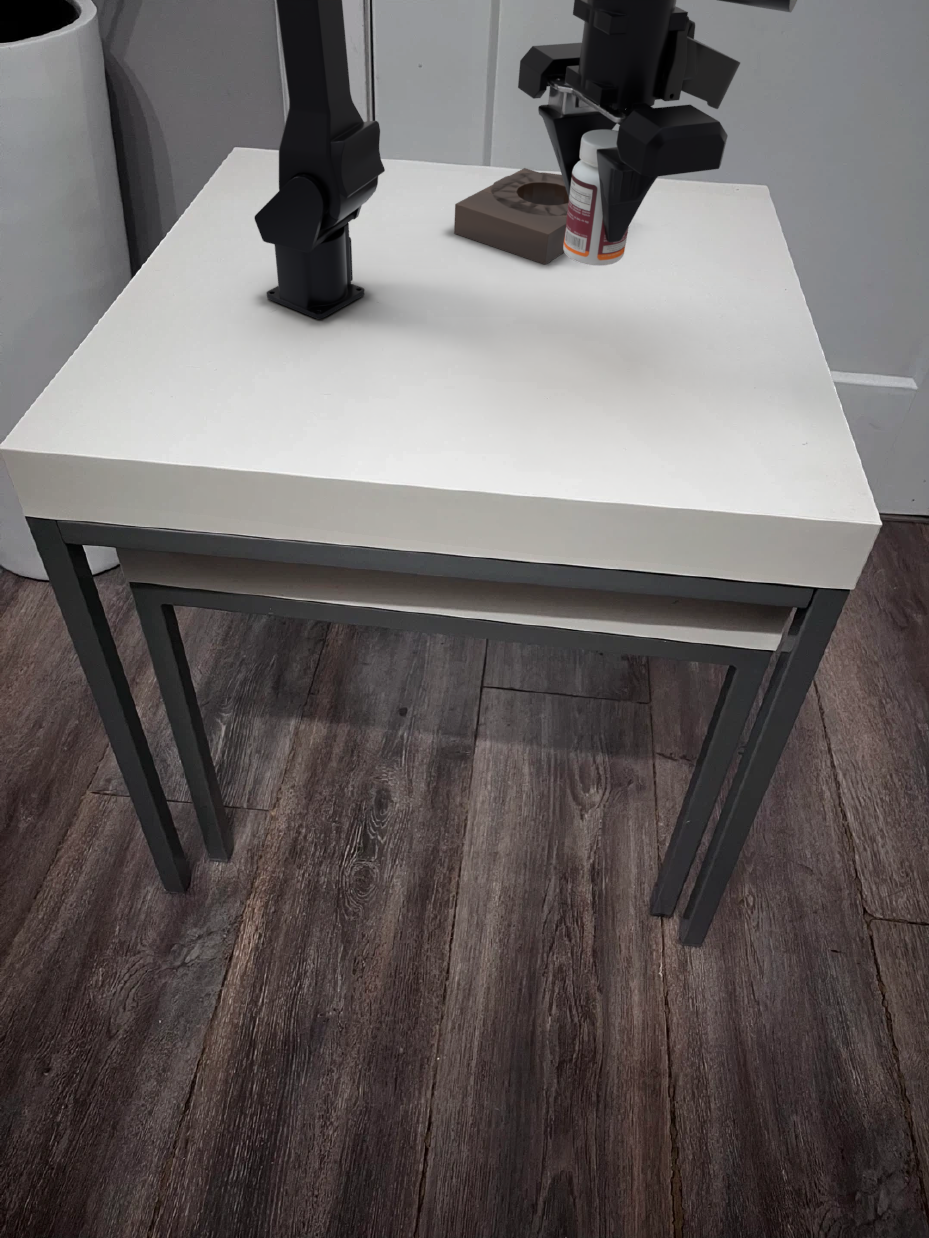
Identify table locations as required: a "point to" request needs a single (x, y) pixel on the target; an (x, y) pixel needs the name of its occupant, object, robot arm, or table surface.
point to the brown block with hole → (518, 215)
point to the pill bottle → (590, 207)
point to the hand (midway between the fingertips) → (596, 227)
